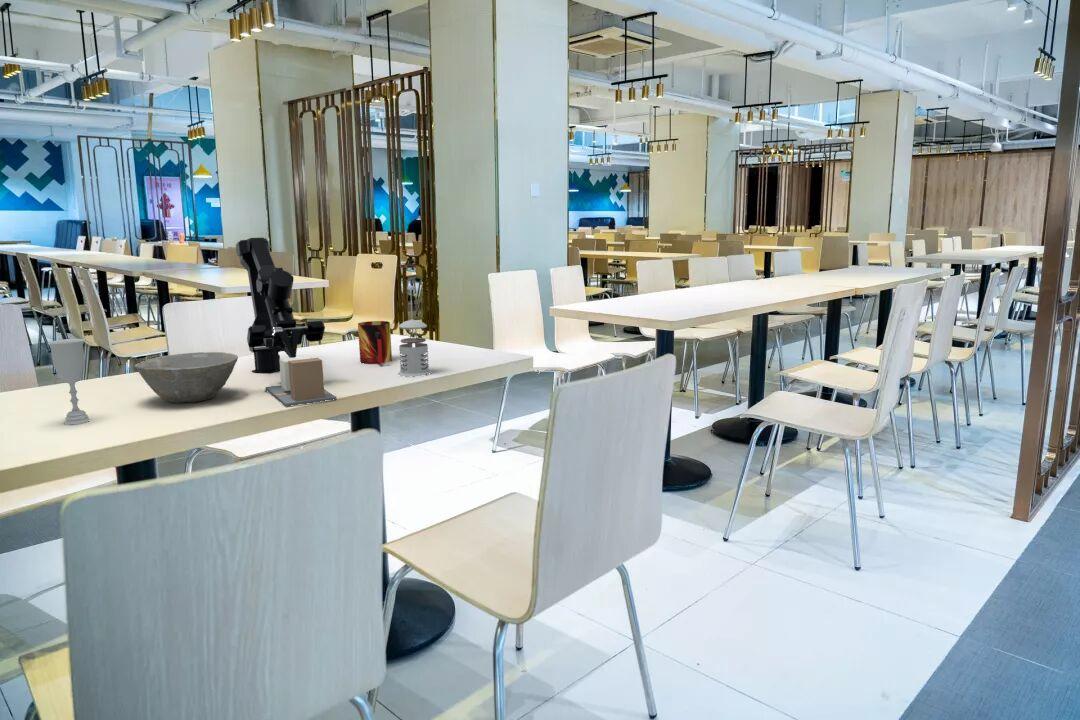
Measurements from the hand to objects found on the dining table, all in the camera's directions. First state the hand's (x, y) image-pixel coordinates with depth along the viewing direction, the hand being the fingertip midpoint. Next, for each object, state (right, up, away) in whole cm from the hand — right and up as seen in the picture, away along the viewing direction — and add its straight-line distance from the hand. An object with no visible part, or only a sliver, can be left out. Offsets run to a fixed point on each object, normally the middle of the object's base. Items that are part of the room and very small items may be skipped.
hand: (294, 359), depth 188 cm
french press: (+27, -4, +24) cm, 36 cm away
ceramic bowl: (-24, -10, -4) cm, 26 cm away
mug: (+13, -1, +42) cm, 44 cm away
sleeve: (+2, -7, -1) cm, 7 cm away
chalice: (-40, -14, -24) cm, 49 cm away
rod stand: (+2, -9, -1) cm, 9 cm away
